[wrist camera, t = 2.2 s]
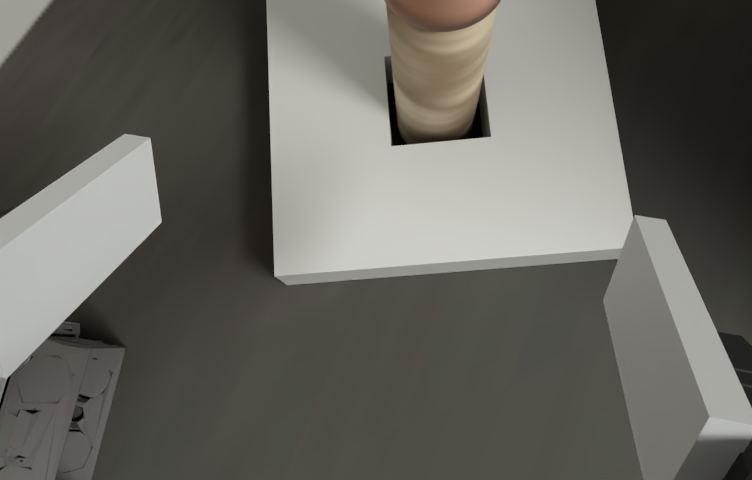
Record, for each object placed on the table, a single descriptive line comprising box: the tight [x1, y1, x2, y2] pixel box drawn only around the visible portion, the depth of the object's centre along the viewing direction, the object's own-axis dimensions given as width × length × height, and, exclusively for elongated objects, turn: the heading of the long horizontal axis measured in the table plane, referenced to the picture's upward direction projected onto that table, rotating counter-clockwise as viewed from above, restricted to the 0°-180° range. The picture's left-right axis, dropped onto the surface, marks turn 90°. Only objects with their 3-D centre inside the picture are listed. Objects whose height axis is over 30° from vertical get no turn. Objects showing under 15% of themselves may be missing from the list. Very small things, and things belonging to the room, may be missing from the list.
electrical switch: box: [0, 321, 125, 480], centre depth 28 cm, size 9×5×9 cm, turn 170°
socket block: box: [266, 0, 633, 285], centre depth 33 cm, size 18×18×3 cm
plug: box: [384, 0, 501, 145], centre depth 27 cm, size 5×5×14 cm
